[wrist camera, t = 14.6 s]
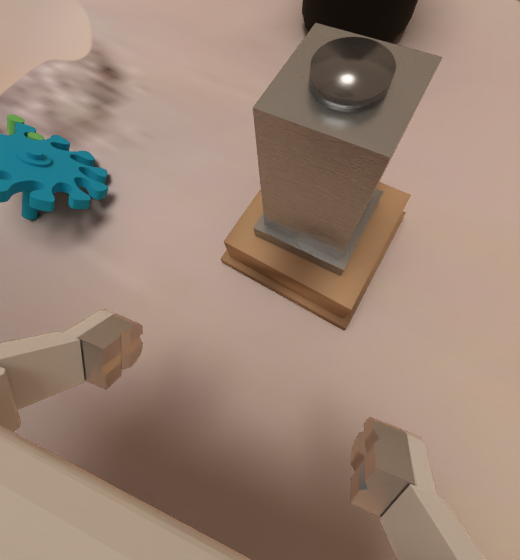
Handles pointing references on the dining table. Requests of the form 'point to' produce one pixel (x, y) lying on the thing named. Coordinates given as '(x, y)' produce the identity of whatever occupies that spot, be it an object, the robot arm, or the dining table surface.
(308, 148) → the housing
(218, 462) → the dining table surface
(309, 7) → the coffee jar
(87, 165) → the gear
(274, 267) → the stand
